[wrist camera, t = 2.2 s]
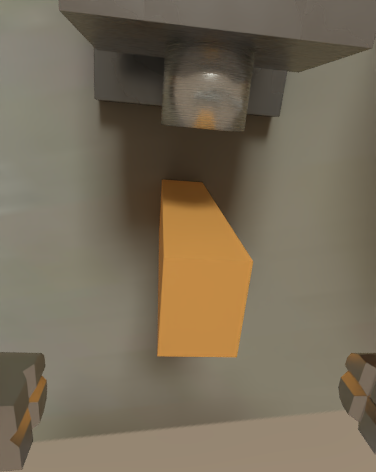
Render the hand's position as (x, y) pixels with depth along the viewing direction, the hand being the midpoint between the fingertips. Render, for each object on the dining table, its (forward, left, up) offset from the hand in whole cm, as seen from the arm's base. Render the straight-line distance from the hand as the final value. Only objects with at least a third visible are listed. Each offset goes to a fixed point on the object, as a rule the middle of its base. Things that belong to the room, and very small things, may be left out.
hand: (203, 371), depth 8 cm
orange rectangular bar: (0, 0, -17) cm, 17 cm away
